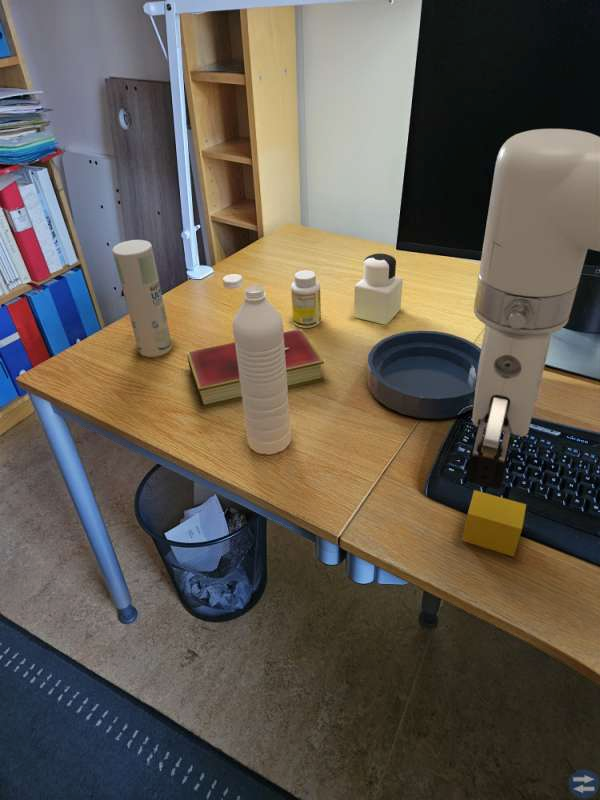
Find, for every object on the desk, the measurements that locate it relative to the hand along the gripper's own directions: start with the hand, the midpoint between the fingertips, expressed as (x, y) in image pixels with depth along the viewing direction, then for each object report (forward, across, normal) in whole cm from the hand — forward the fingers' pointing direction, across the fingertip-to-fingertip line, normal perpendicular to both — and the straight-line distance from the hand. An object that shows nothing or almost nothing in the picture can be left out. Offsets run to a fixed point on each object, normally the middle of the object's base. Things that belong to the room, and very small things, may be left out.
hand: (490, 450), depth 56 cm
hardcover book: (+16, +24, +41) cm, 50 cm away
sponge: (+16, +3, -2) cm, 17 cm away
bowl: (+16, +32, +13) cm, 38 cm away
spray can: (+16, +25, +63) cm, 69 cm away
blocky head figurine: (+16, +52, +27) cm, 61 cm away
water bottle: (+16, +10, +32) cm, 37 cm away
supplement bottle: (+16, +44, +39) cm, 61 cm away
